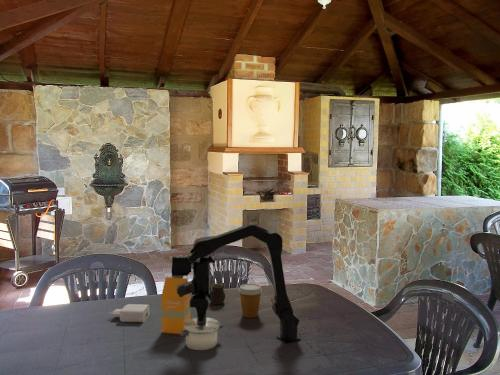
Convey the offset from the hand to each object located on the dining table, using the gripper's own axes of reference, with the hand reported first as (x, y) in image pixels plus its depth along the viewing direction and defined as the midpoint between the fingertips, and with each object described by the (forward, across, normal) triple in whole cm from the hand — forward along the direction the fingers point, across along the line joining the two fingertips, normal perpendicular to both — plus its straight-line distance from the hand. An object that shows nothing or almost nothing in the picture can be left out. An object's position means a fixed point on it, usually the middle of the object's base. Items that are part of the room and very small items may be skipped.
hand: (201, 318), depth 160 cm
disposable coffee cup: (+9, -28, +18) cm, 34 cm away
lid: (+3, 0, 0) cm, 3 cm away
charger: (+9, -24, -32) cm, 41 cm away
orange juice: (+9, -12, -11) cm, 19 cm away
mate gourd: (+9, -42, +3) cm, 43 cm away
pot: (+9, 0, 0) cm, 9 cm away
